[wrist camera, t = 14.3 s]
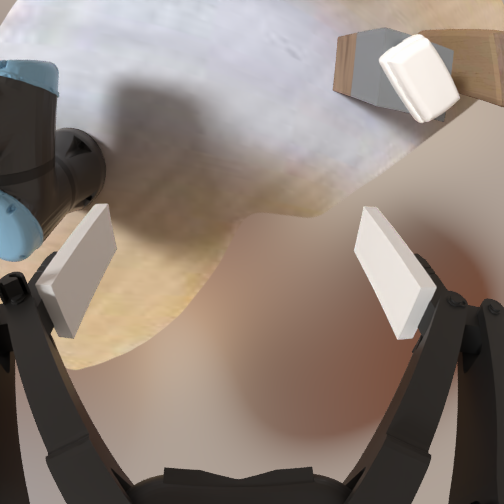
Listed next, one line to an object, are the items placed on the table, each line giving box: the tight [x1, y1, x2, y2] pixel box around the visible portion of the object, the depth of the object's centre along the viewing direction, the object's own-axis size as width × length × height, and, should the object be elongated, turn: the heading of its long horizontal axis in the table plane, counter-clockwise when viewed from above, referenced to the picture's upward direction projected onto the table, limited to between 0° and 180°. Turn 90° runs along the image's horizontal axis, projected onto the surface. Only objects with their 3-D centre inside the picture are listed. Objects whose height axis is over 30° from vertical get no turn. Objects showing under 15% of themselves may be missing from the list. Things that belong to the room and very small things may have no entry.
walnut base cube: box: [333, 33, 357, 96], centre depth 38 cm, size 9×9×9 cm
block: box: [418, 29, 504, 107], centre depth 31 cm, size 10×10×20 cm
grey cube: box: [351, 28, 454, 122], centre depth 31 cm, size 9×9×9 cm
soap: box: [379, 34, 460, 123], centre depth 26 cm, size 9×7×3 cm
